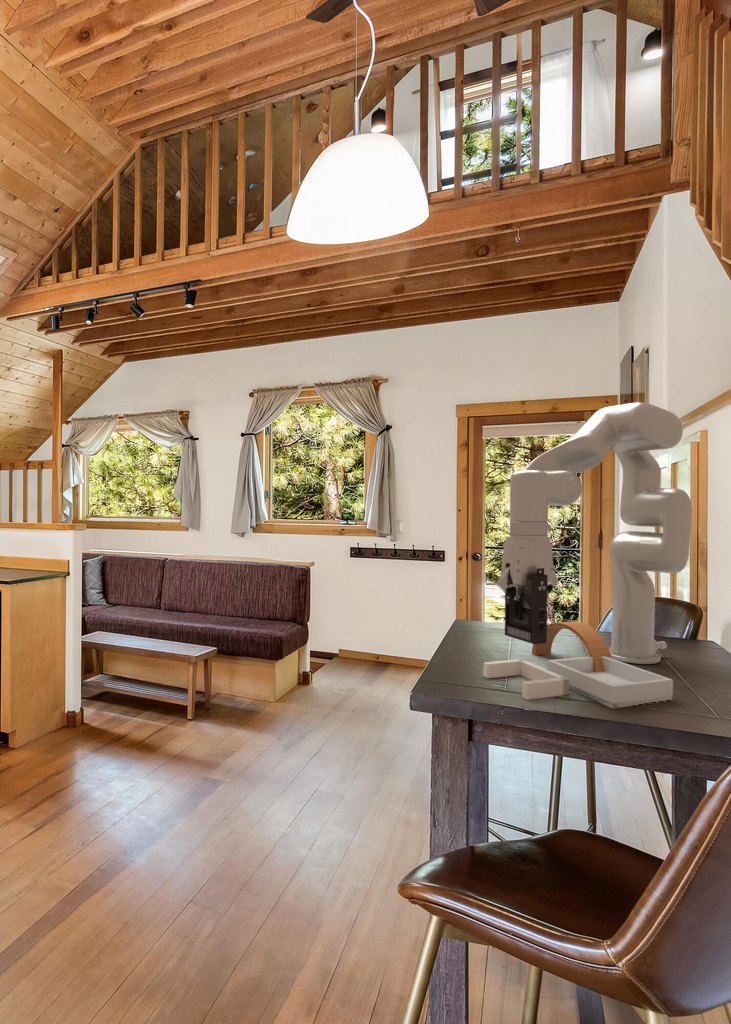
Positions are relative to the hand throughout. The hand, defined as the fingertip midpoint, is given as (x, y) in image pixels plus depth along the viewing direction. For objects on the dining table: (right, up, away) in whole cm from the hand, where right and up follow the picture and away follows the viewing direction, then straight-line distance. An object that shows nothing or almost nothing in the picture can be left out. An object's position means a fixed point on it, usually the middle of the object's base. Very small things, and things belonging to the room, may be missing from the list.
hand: (527, 616), depth 111 cm
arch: (+15, -15, +17) cm, 27 cm away
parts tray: (+16, -14, -2) cm, 21 cm away
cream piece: (-1, -14, 0) cm, 14 cm away
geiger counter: (0, -5, 0) cm, 5 cm away
